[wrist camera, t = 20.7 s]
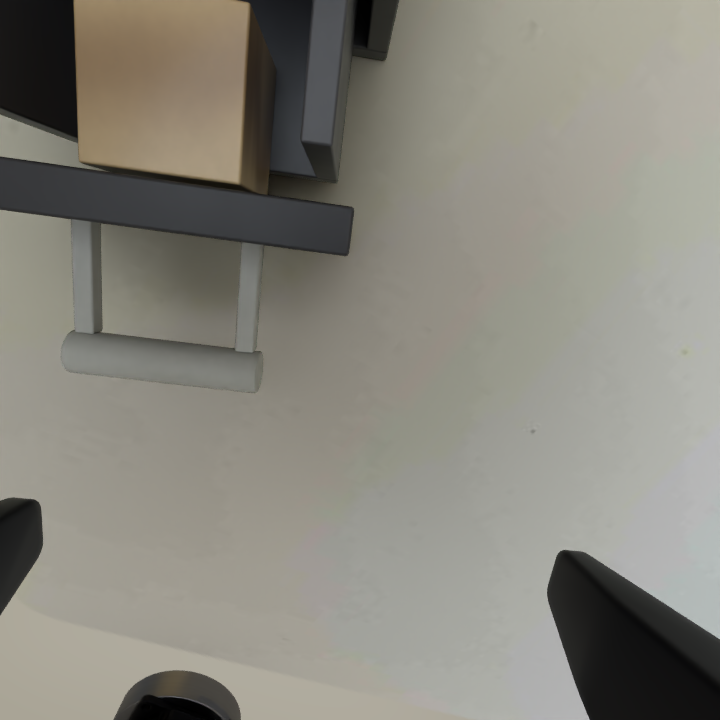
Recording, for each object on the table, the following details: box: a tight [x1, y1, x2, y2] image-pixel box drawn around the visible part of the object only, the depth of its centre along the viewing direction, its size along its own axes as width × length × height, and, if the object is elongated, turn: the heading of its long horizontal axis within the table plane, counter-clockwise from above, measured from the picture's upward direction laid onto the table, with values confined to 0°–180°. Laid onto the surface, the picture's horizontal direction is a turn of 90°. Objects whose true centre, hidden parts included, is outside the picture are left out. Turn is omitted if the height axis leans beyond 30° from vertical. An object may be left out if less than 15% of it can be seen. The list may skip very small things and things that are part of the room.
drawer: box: [0, 0, 358, 393], centre depth 13 cm, size 20×11×7 cm, turn 172°
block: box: [74, 0, 276, 195], centre depth 14 cm, size 4×4×4 cm
